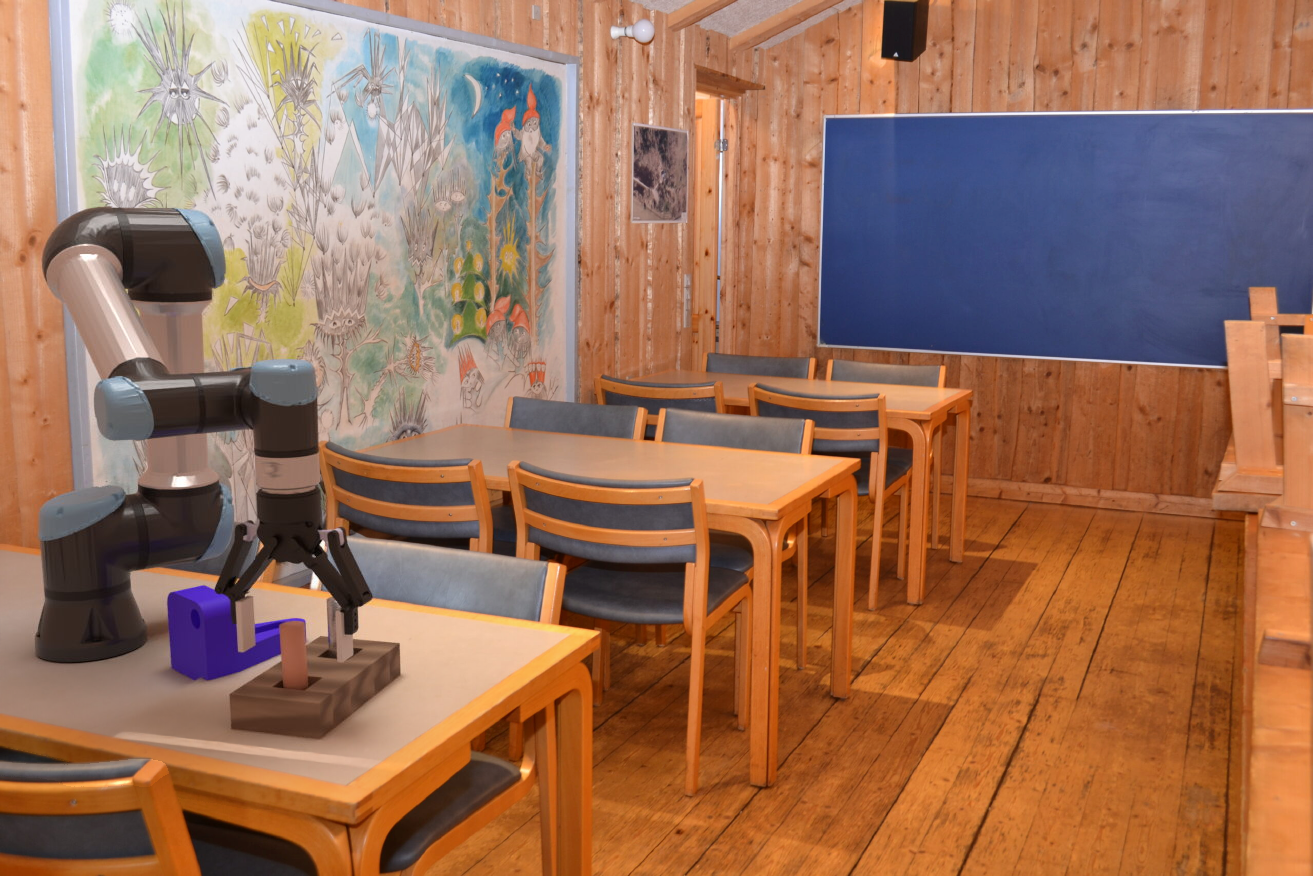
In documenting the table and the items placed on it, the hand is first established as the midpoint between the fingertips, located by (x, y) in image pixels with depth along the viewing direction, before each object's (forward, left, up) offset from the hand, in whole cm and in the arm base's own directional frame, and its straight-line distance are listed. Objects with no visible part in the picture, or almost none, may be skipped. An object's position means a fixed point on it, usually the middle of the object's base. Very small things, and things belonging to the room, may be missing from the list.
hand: (295, 653), depth 145 cm
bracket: (-18, +18, -10) cm, 28 cm away
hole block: (0, +5, -9) cm, 11 cm away
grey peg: (0, +11, -8) cm, 14 cm away
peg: (0, 0, -8) cm, 8 cm away
